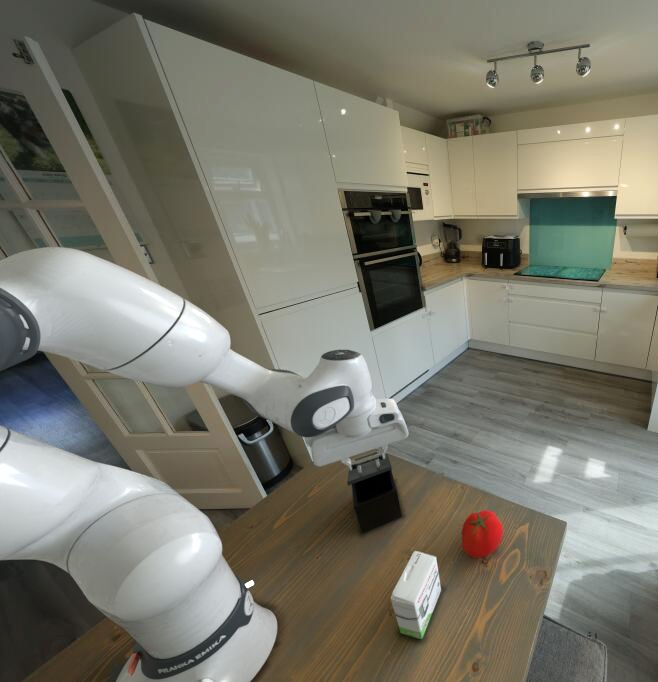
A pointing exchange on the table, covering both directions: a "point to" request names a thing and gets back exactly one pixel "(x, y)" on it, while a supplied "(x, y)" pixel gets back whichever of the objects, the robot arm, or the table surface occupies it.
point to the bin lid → (368, 467)
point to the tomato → (481, 534)
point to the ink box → (416, 594)
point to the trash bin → (376, 501)
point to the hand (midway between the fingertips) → (368, 462)
